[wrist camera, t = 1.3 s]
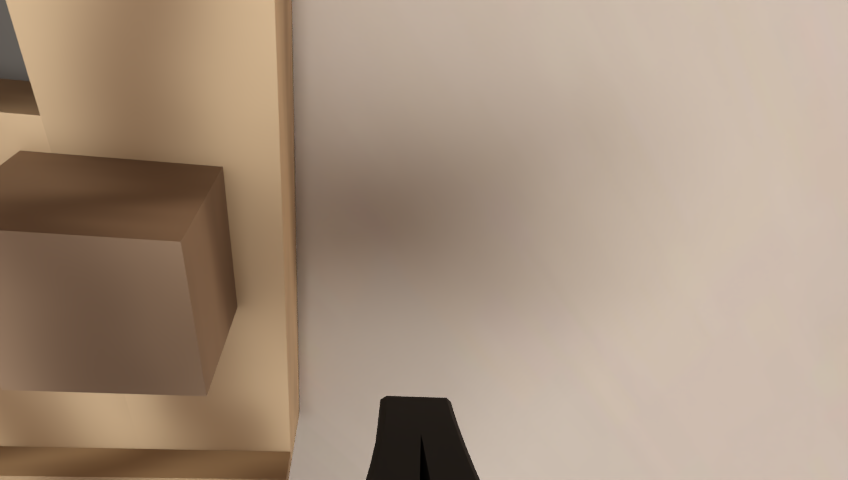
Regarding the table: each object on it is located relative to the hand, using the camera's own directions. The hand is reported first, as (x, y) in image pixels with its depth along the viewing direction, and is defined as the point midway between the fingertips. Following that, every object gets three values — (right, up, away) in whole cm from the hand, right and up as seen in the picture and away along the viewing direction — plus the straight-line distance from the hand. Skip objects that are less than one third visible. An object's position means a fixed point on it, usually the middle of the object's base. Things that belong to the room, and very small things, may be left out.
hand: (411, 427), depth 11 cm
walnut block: (-8, +4, +4) cm, 10 cm away
